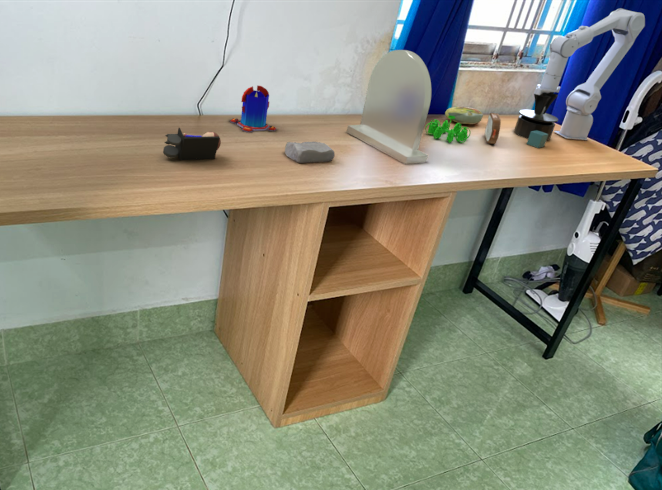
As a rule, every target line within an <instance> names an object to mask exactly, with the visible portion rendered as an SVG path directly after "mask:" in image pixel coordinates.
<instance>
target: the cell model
mask: <svg viewBox="0 0 662 490" xmlns="http://www.w3.org/2000/svg"><path fill="white" fill-rule="evenodd" d="M444 115H445V117H446V119H447V120H448V121H450V120H451V119H450V118H448V116H454V117H455V119H452V120H451V122H455V123H456V124H457V123H460V124H461V125H476V124H478V123H480V122H481V121H482V120H483V117H484V114H483V112H482V111H481V110H479V109H476V108H474V107H471V106H470V107H469V106H454V107H453V106H452V107H449V108H448V109H446V111H445V112H444Z"/></svg>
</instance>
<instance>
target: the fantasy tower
mask: <svg viewBox="0 0 662 490" xmlns="http://www.w3.org/2000/svg"><path fill="white" fill-rule="evenodd" d="M269 98H270V93H269V91H268V89H267V88H265V87H264V86H262V85H256V89H255V90H254V86H253V85H252V86H250V87H248V88H247V89H246V90H245V91H243V94H242V96H241V101H240V102H241V103H242V106H241V115H240V120H239V118H237V117H235V118H232V119H231V120H230V121H229V123H231V124H235V125H236V126H238V127H240V128H241V131H242V132H245V133H253V132H262V131H263V132H264V131H268V132H276V131H277V130H278V129H277V127H276V126H273V125H268V123H267V118H268V116H267V115H268V109H269V107H270V101H269V100H270V99H269Z"/></svg>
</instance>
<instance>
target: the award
mask: <svg viewBox="0 0 662 490" xmlns="http://www.w3.org/2000/svg"><path fill="white" fill-rule="evenodd" d="M431 81H432V80H431V76H430V72H429V70H428V67H427V65H426V64H425V62H424V61H423V59H422V58H421V57H420V55H418V54H417V53H415V52H414V51H411V50H407V49H395V50H390V51H388V52H387V53H385V54H384V55H382V57H380V59H379V60H378V61H377V62H376V64H375V65H374V67H373V69H372V72H371V73H370V77H369V80H368V84H367V88H366V89H367V90H366V93H365V98H364V99H365V100H364V104H363V108H362V114H361V118H360V124H349V125H347V128H346V133H347V134H349V135H351V136H352V137H355V138H356V139H358V140H360V141H362V142H363V143H365V144H367V145H369V146H371V147H373V148H374V149H376V150H378V151H379V152H382V153H384V154H386V155H387V156H389V157H391V158H392V159H395V160H396V161H398V162H399V163H402V164H404V165H413V164H423V163H427V161H428V158H429V155H428V154H427V153H425V152H423V151H421V150H419V148H420V145H421V141H422V137H423V133H424V129H425V127H426V121H427V117H428V113H429V110H430V106H431V100H432V82H431Z"/></svg>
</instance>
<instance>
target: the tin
mask: <svg viewBox="0 0 662 490" xmlns="http://www.w3.org/2000/svg"><path fill="white" fill-rule="evenodd" d="M501 123H502V119H501V117H500V115H499V113H498V112H497V113H495V112H490V113H489V114H488V117H487V122H486V125H485V130H484V136H485V141H486V143H487V144H490V145H496V144H497V142H498V139H499V136H500V131H501Z"/></svg>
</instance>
